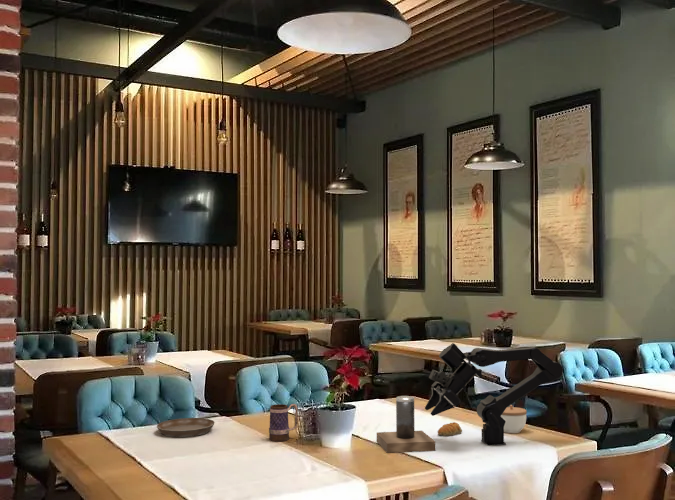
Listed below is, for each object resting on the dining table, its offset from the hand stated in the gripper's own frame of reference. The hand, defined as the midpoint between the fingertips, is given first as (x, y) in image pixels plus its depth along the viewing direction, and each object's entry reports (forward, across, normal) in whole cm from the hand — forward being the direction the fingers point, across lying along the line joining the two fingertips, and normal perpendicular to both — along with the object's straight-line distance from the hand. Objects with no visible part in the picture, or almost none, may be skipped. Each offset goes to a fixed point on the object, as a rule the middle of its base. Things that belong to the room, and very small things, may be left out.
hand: (428, 412), depth 247 cm
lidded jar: (-16, -17, +32) cm, 40 cm away
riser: (+13, 0, +2) cm, 14 cm away
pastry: (0, -16, +16) cm, 22 cm away
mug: (+42, -14, -26) cm, 51 cm away
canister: (+11, 0, 0) cm, 11 cm away
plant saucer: (+67, -30, -51) cm, 89 cm away
